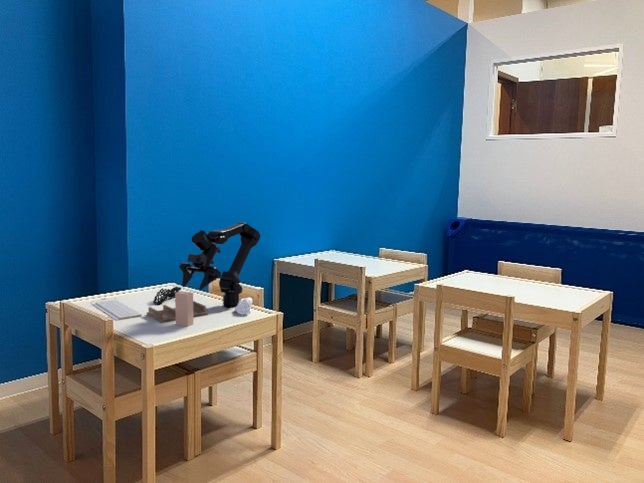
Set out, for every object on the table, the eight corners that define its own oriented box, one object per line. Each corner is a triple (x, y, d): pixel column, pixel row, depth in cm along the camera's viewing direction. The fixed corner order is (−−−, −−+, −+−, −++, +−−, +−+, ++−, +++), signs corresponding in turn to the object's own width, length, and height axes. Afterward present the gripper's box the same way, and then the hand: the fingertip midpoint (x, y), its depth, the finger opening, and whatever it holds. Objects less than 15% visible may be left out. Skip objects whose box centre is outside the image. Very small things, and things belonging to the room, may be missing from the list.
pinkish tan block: (181, 322, 220) (180, 291, 219) (193, 324, 218) (192, 292, 216) (175, 324, 217) (175, 292, 216) (187, 326, 215) (187, 294, 213)
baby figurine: (240, 308, 246) (252, 293, 245) (252, 324, 237) (263, 308, 236) (227, 302, 240) (238, 287, 239) (237, 318, 231) (249, 303, 230)
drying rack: (191, 307, 244) (191, 299, 243) (208, 314, 233) (208, 306, 232) (146, 314, 230) (146, 306, 230) (161, 322, 219) (161, 314, 219)
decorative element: (161, 306, 246) (161, 293, 245) (151, 305, 247) (151, 292, 246) (182, 295, 268) (182, 283, 267) (173, 294, 269) (173, 282, 268)
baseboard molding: (112, 322, 220) (141, 318, 228) (112, 315, 220) (141, 311, 228) (89, 306, 244) (116, 303, 252) (89, 300, 244) (116, 296, 251)
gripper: (180, 244, 229) (163, 275, 222) (214, 247, 220) (198, 281, 213) (194, 258, 238) (178, 288, 230) (228, 262, 229) (212, 294, 222)
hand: (191, 288), depth 224 cm, fingers open, 9 cm apart
